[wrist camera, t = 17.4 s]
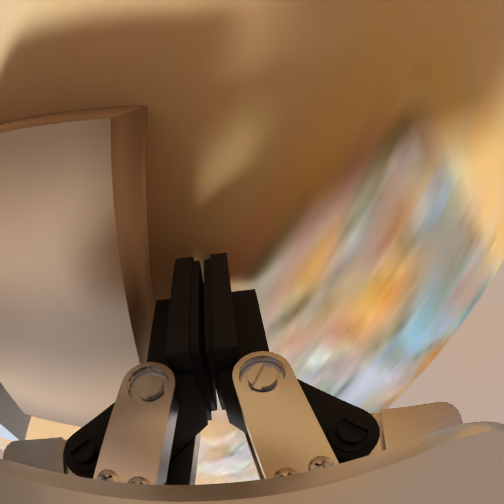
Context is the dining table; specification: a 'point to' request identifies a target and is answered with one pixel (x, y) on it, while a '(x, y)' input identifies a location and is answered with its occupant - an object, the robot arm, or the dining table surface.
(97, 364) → the slab
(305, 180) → the dining table surface
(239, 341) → the robot arm
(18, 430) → the rail
